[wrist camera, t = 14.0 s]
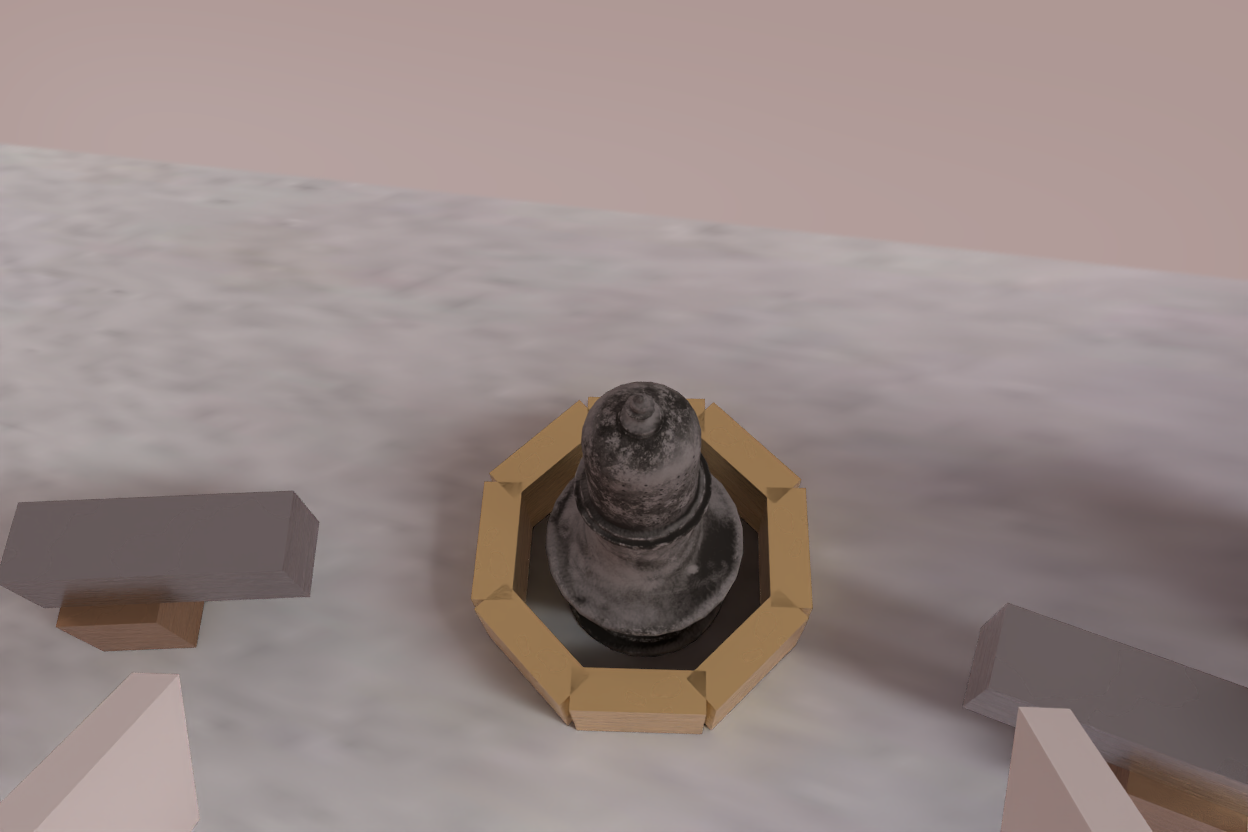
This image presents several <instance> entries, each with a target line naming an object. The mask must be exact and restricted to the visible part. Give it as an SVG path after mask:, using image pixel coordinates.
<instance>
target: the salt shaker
mask: <svg viewBox="0 0 1248 832" xmlns="http://www.w3.org/2000/svg"><path fill="white" fill-rule="evenodd" d="M581 446H582V453H583V457H582V459H581V460H580V463H579V465H578V468H577V471H576V473H575V477H574V478H573V479H572V480H570V481H569V483H568V484H567V486H566V487H565V488H564V490H563V491H562V493H561V494H560V495H559V497H558V498H557V500H556V501H555V504H554V507H553V510H552V512H551V515H550V518H549V521H548V523H547V535H546V552H547V557H548V562H549V567H550V572H551V574H552V576H553V578H554V580H555V582H556V584H557V586H558V588H559V590H560V592H561V594H562V595H563V596H564V597H565V599H566V600H567V601H568V602H569V604H570V606H571V608H572V610H573V612H574V614H575V616H576V618H577V620H578V622H579V623H580V624H581V626H582V627H583V628H584V629H585V630H586V631H587V632H588V633H589V634H590V635H591V636H592V637H593V638H594V639H595V640H597V641H599V642H600V643H602V644H603V645H605V646H607V647H608V648H610V649H611V650H615V651H618V652H621V653H625V654H628V655H631V656H658V655H662V654H667V653H671V652H675V651H677V650H679V649H681V648H683V647H684V646H686V645H688V644H690V643H692V642H694V641H695V640H696V639H697V638H698V637H699V636H700V635H701V634H702V633H703V632H704V631H705V630H706V629H707V628H708V627H710V625H711V623H712V622H713V620H714V618H715V616H716V615H717V613H718V611H719V610H720V607H721V603H722V600H723V599H724V598H725V596H726V595H727V593H728V591H729V590H730V588H731V586H732V584H733V583H734V581H735V579H736V578H737V574H738V570H739V567H740V563H741V559H742V555H743V527H742V524H741V521H740V518H739V515H738V511H737V508H736V505H735V503H734V502H733V500H732V499H731V497H730V495H729V494H728V492H727V491H726V489H725V488H724V486H723V484H722V483H721V482H719V481H718V480H717V479H716V478H715V477H714V476H713V475H712V474H711V473H710V470H709V467H708V463H707V461H706V459H705V458H704V456H703V455H702V453H701V427H700V424H699V420H698V417H697V415H696V412H695V411H694V409H693V408H692V406H691V404H690V403H689V401H688V400H687V399H685V398H684V397H683V396H682V395H681V394H680V393H679V392H677V391H675V390H673V389H671V388H669V387H667V386H665V385H661V384H657V383H653V382H633V383H628V384H624V385H620V386H618V387H616V388H614V389H612V390H610V391H608V392H606V393H605V394H604V395H603V396H601V397H600V398H599V399H598V400H597V401H596V402H595V403H594V405H593V406H592V407H591V409H590V410H589V412H588V414H587V417H586V419H585V422H584V425H583V428H582V436H581Z"/></svg>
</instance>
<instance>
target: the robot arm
mask: <svg viewBox="0 0 1248 832" xmlns="http://www.w3.org/2000/svg"><path fill="white" fill-rule="evenodd" d="M199 819H200V817H199V810H198V803H197V796H196V789H195V782H194V775H193V768H192V761H191V754H190V747H189V740H188V733H187V726H186V719H185V712H184V705H183V698H182V691H181V684H180V677H179V674H159V673H133V672H132V673H131V674H130V675H129V676H128V677H127V678H126V679H125V680H124V681H123V682H122V683H121V684H120V685H119V686H118V687H117V688H116V689H115V690H114V691H113V692H112V693H111V694H110V695H109V696H108V697H107V698H106V699H105V700H104V701H103V702H102V703H101V704H100V705H99V706H98V707H97V708H96V709H95V710H94V711H93V712H92V713H91V714H90V715H89V716H88V717H87V718H86V719H85V720H84V721H83V722H82V723H81V724H80V725H79V726H78V727H77V728H76V729H75V730H74V731H73V732H72V733H71V734H70V735H69V736H68V737H67V738H66V739H65V740H64V741H63V742H62V743H61V744H60V745H59V746H57V747H56V748H55V749H54V750H53V751H52V752H51V753H50V754H49V755H48V756H47V757H46V758H45V759H44V760H43V761H42V762H41V763H40V764H39V765H38V766H37V767H36V768H35V769H34V770H33V771H32V772H31V773H30V774H29V775H28V776H27V777H26V778H25V779H24V780H23V781H22V782H21V783H20V784H19V785H18V786H17V787H16V788H15V789H14V790H13V791H12V792H11V793H10V794H9V795H8V796H7V797H6V798H5V799H4V800H3V801H2V802H1V803H0V832H191V831H192V829H193V828H194V827H195V825H196V824H197V822H198V821H199ZM1001 832H1153V831H1152V830H1151V828H1150V827H1149V825H1148V824H1147V822H1146V821H1145V819H1144V818H1143V816H1142V815H1141V813H1140V812H1139V810H1138V809H1137V807H1136V806H1135V804H1134V803H1133V801H1132V800H1131V798H1130V797H1129V795H1128V794H1127V793H1126V791H1125V790H1124V788H1123V787H1122V785H1121V784H1120V782H1119V781H1118V779H1117V778H1116V776H1115V775H1114V773H1113V772H1112V770H1111V769H1110V767H1109V766H1108V764H1107V763H1106V761H1105V760H1104V758H1103V757H1102V755H1101V754H1100V752H1099V751H1098V749H1097V748H1096V746H1095V745H1094V744H1093V742H1092V741H1091V739H1090V738H1089V736H1088V735H1087V733H1086V732H1085V730H1084V729H1083V727H1082V726H1081V724H1080V723H1079V721H1078V720H1077V718H1076V717H1075V715H1074V714H1073V712H1072V711H1071V709H1066V708H1040V707H1018V714H1017V721H1016V728H1015V735H1014V742H1013V749H1012V756H1011V763H1010V770H1009V777H1008V783H1007V790H1006V797H1005V804H1004V811H1003V818H1002V825H1001Z"/></svg>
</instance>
